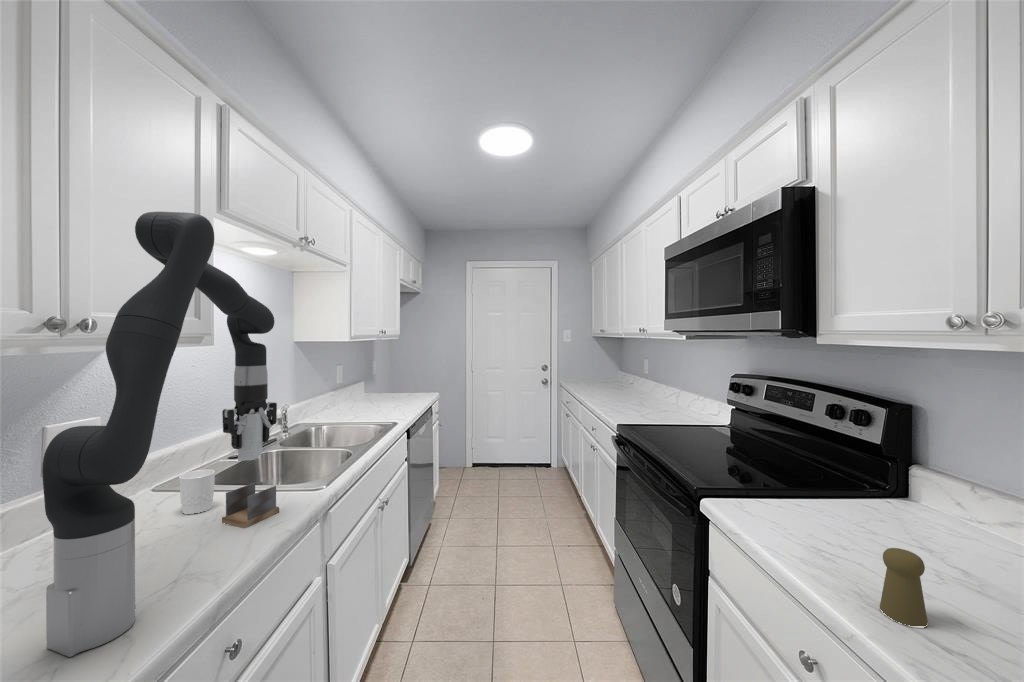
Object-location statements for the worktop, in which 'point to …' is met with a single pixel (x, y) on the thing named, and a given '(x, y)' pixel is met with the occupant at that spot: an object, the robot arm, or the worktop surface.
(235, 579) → the worktop surface
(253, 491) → the brown gray open holder
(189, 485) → the white cup
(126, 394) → the robot arm
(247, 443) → the skincare box
